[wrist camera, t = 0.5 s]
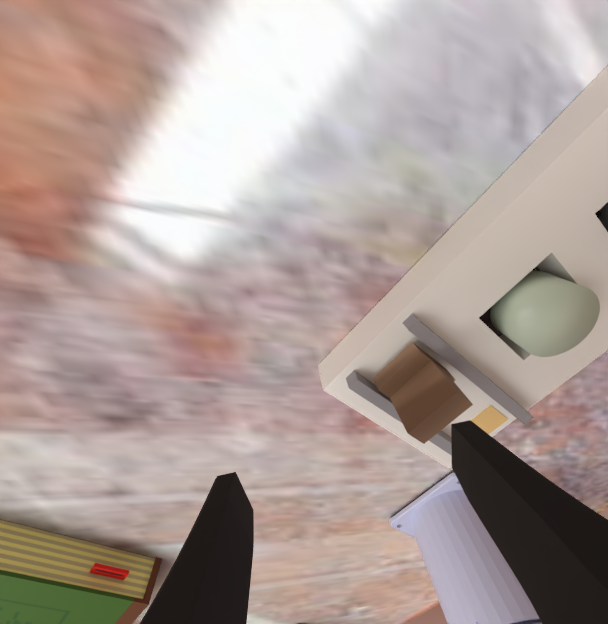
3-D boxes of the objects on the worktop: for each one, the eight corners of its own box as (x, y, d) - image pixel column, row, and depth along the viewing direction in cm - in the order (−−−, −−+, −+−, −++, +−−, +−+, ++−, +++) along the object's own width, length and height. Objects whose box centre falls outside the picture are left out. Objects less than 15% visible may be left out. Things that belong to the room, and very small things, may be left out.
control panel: (715, 214, 18) (808, 223, 15) (432, 440, 24) (455, 480, 21) (630, 41, 14) (731, 4, 11) (317, 365, 20) (325, 400, 17)
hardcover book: (75, 661, 35) (54, 713, 32) (-126, 634, 30) (-177, 694, 26) (167, 547, 28) (152, 600, 24) (-79, 482, 22) (-142, 539, 19)
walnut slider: (446, 368, 17) (484, 413, 14) (407, 402, 18) (435, 451, 15) (411, 341, 16) (444, 382, 13) (373, 378, 17) (394, 425, 14)
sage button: (571, 298, 18) (613, 316, 15) (514, 346, 19) (545, 369, 16) (535, 256, 16) (576, 269, 14) (476, 310, 17) (505, 330, 15)
